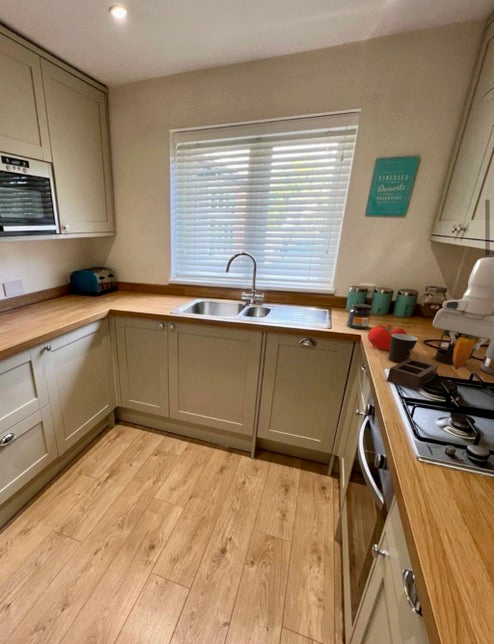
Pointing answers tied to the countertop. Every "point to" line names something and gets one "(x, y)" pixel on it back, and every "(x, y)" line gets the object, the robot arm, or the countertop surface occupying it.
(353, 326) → the supplement container
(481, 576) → the countertop surface
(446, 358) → the french press
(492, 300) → the robot arm
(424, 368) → the brown rectangular box
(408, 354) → the coffee mug
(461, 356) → the carrot
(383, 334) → the tomato
